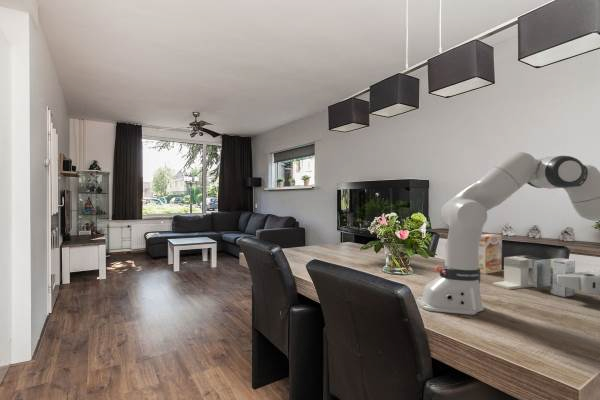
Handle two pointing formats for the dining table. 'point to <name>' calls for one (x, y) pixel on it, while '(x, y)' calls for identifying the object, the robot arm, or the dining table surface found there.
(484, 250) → the coffeecake box
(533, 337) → the dining table surface
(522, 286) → the test stand
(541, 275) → the gray boxy block
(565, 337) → the dining table surface
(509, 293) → the dining table surface
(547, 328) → the dining table surface
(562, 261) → the syrup box
